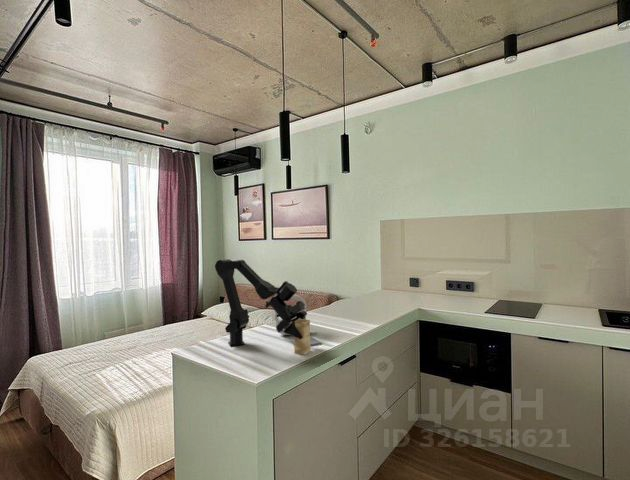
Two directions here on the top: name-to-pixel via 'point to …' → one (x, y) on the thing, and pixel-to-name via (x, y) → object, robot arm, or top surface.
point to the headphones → (285, 301)
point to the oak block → (304, 329)
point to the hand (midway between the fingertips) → (305, 336)
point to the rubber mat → (312, 341)
